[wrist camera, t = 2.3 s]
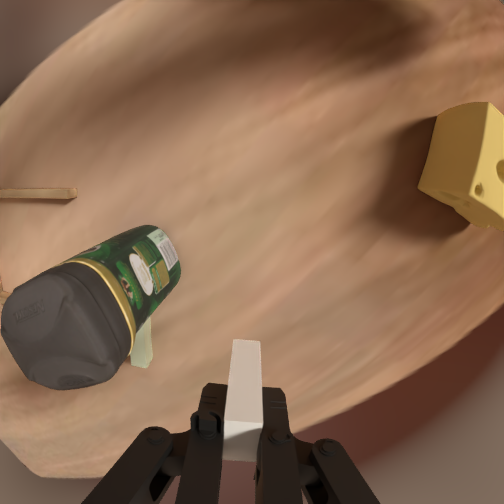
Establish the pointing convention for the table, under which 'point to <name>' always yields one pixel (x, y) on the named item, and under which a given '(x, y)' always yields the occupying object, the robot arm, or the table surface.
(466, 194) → the cheese
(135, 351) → the sage T block
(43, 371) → the coffee jar
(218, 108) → the table surface
